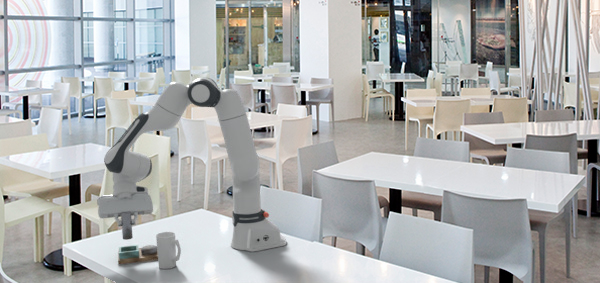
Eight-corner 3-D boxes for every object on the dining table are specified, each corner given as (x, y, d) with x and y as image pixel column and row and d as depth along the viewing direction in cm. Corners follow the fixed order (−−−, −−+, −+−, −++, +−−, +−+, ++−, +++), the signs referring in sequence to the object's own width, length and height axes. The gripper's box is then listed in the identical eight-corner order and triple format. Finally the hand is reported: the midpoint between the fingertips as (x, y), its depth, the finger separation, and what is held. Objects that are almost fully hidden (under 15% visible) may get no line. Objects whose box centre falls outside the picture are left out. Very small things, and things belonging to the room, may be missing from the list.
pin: (132, 236, 219) (130, 211, 217) (132, 239, 215) (131, 213, 214) (122, 237, 218) (121, 211, 216) (122, 240, 214) (121, 214, 213)
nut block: (157, 249, 228) (157, 239, 227) (159, 259, 216) (159, 249, 216) (118, 254, 223) (118, 244, 223) (118, 264, 212) (117, 254, 211)
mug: (154, 267, 208) (152, 235, 206) (167, 261, 214) (165, 230, 212) (175, 272, 203) (173, 239, 202) (187, 265, 209) (185, 234, 207)
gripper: (96, 191, 217) (97, 223, 210) (151, 187, 223) (154, 218, 216) (97, 200, 222) (98, 231, 215) (151, 195, 228) (154, 226, 220)
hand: (126, 224), depth 215 cm, fingers closed on pin, 4 cm apart
